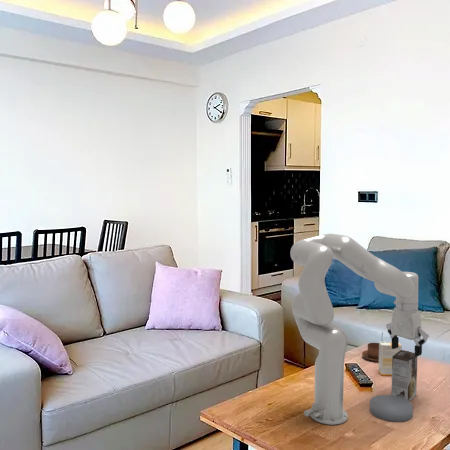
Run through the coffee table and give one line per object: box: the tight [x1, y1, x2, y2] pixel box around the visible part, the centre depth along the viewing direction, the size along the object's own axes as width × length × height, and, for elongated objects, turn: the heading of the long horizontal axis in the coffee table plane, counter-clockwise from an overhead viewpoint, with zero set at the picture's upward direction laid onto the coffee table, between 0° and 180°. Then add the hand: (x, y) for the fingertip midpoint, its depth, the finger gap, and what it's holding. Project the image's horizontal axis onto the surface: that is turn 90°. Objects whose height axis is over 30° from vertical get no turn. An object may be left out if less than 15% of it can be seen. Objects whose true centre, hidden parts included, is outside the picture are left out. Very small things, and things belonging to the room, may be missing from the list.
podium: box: [369, 394, 414, 423], centre depth 169 cm, size 14×14×3 cm
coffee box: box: [390, 349, 418, 403], centre depth 180 cm, size 9×6×16 cm
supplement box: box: [378, 340, 403, 377], centre depth 202 cm, size 8×5×13 cm, turn 84°
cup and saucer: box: [361, 342, 379, 362], centre depth 220 cm, size 12×12×6 cm
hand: (406, 351), depth 180 cm, fingers open, 9 cm apart
